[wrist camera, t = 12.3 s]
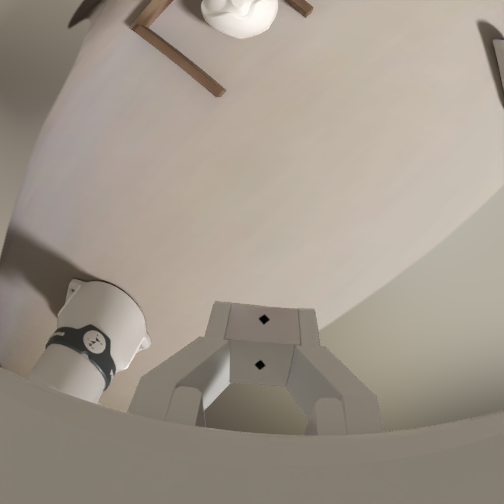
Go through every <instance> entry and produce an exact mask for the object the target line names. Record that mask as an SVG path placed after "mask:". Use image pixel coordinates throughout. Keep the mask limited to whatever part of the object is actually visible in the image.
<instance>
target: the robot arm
mask: <svg viewBox="0 0 504 504" xmlns="http://www.w3.org/2000/svg"><path fill="white" fill-rule="evenodd" d="M57 316H58V320H57V330H56V331H55V332H54V334H52V335H51V337H50V338H49V340H48V343H47V344H46V350H45V351H44V353H43V354H42V356H41V357H40V359H39V360H38V361H37V363H36V364H35V366H34V367H33V369H32V370H31V372H30V373H29V375H28V376H27V379H26V378H23V377H21V376H19V375H16V374H14V373H12V372H10V371H8V370H5V369H3V368H1V367H0V504H504V410H500V411H497V412H493V413H490V414H486V415H481V416H477V417H474V418H469V419H465V420H460V421H455V422H450V423H445V424H440V425H434V426H428V427H421V428H415V429H407V430H399V431H390V432H384V429H383V424H382V419H381V414H380V410H379V405H378V401H377V397H376V395H375V394H373V392H372V391H370V390H369V389H368V388H367V387H366V386H365V385H364V384H363V383H362V382H361V381H360V380H359V379H358V378H357V377H356V376H355V375H354V374H353V373H352V372H351V371H350V370H349V369H348V368H347V367H346V366H345V365H344V364H343V363H342V362H341V361H340V360H339V359H337V358H336V357H335V356H334V355H333V354H332V353H331V352H330V351H329V350H328V349H327V348H326V347H323V346H320V339H319V332H318V325H317V318H316V312H315V310H314V309H306V308H298V309H295V308H280V307H267V306H259V305H249V304H240V303H230V302H221V301H215V303H214V304H213V308H212V311H211V315H210V319H209V322H208V326H207V330H206V333H205V337H198V338H197V339H195V340H194V341H193V342H191V343H190V344H188V345H187V346H185V347H184V348H183V349H181V350H180V351H178V352H177V353H175V354H174V355H173V356H171V357H170V358H168V359H167V360H165V361H164V362H163V363H161V364H160V365H158V366H157V367H155V368H154V369H152V370H151V371H149V372H148V373H147V374H145V375H144V376H142V377H141V379H140V381H139V384H138V386H137V389H136V391H135V394H134V396H133V399H132V401H131V404H130V406H129V409H128V411H127V412H124V411H120V410H116V409H113V408H109V407H106V406H102V405H99V404H97V403H98V401H99V398H100V396H101V394H102V392H103V391H105V390H106V389H107V388H108V386H109V385H110V384H111V382H112V380H113V377H114V375H115V373H117V372H118V371H121V370H124V369H127V368H128V366H129V365H130V363H131V361H132V359H133V358H134V356H135V354H136V353H137V352H139V351H141V350H143V349H146V348H148V347H149V346H150V344H151V340H150V338H149V336H148V334H147V332H146V327H145V320H144V317H143V314H142V312H141V310H140V309H139V307H138V306H137V304H136V303H135V302H134V301H133V300H132V299H131V298H130V297H129V296H128V295H127V294H126V293H124V292H123V291H122V290H120V289H118V288H117V287H115V286H113V285H111V284H108V283H105V282H100V281H91V282H84V281H81V280H77V279H72V280H71V282H70V283H69V287H68V291H67V296H66V301H65V305H64V306H63V307H62V309H61V310H60V311H59V313H58V315H57ZM229 382H231V383H244V384H260V385H269V386H281V387H286V389H287V390H288V392H289V393H290V395H291V396H292V398H293V399H294V401H295V402H296V404H297V405H298V407H299V408H300V410H301V411H302V413H303V414H304V415H305V417H306V418H307V420H308V424H307V426H306V429H305V431H304V433H303V435H276V434H260V433H246V432H237V431H228V430H218V429H212V428H206V425H205V417H204V410H205V409H206V408H207V407H208V406H209V405H210V404H211V403H212V402H213V401H214V400H215V399H216V398H217V396H218V395H219V394H220V393H221V392H222V391H223V390H224V389H225V388H226V387H227V386H228V385H229Z"/></svg>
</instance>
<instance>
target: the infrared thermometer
mask: <svg viewBox="0 0 504 504" xmlns="http://www.w3.org/2000/svg"><path fill="white" fill-rule="evenodd" d="M493 45H494V49H495V53H496V57H497V61H498V66H499V71H500V76H501V81H502V87H503V90H504V39H502V38H495V39H493Z"/></svg>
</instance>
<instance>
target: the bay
mask: <svg viewBox="0 0 504 504" xmlns="http://www.w3.org/2000/svg"><path fill="white" fill-rule="evenodd" d="M172 1H173V0H152V1H151V2H150V3H149V5H148V6H147V7H146V8H145V9H144V10H143V11H142V12H141V14H140V15H139V16H138V17H137V18H136V20H135V21H134V22H133V23H132V24H131V26H130V27H129V28H130V29H131V30H133V31H134V32H136V33H137V34H138V35H140V36H141V37H142V38H144V39H145V40H146V41H148V42H149V43H150V44H152V45H153V46H154V47H155V48H157V49H158V50H159V51H161V52H162V53H163V54H164V55H166V56H167V57H168V58H170V59H171V60H172V61H173V62H175V63H176V64H177V65H178V66H180V67H181V68H182V69H183V70H184V71H186V72H187V73H188V74H189V75H191V76H192V77H193V78H194V79H195V80H196V81H198V82H199V83H200V84H201V85H202V86H204V87H205V88H206V89H207V90H208V91H209V92H211V93H212V94H213V95H214V96H215V97H221V96H222V95H223V94H224V93H225V92H226V90H225V89H224V88H223V87H222V86H220V85H219V84H218V83H217V82H216V81H215V80H213V79H212V78H211V77H210V76H209V75H208V74H206V73H205V72H204V71H203V70H202V69H200V68H199V67H198V66H197V65H195V64H194V63H193V62H192V61H191V60H189V59H188V58H187V57H186V56H184V55H183V54H182V53H180V52H179V51H178V50H177V49H175V48H174V47H173V46H172V45H170V44H169V43H168V42H166V41H165V40H164V39H162V38H161V37H160V36H158V35H157V34H156V33H154V32H153V31H152V30H150V29H149V26H150V25H151V24H152V23H153V22H154V21H155V19H156V18H157V17H158V16H159V15H160V14H161V13H162V12H163V11H164V10H165V8H166V7H167V6H168V5H169V4H170V3H171V2H172ZM285 1H286V2H287V3H289V4H290V5H291V6H292V7H293V8H295V9H296V10H297V11H298V12H299V13H301V14H302V15H303V16H304V17H305V18H306V17H307V16H308V15H309V14H311V13H312V10H313V7H312V6H311V5H310V4H309V3H307V2H306V1H305V0H285Z"/></svg>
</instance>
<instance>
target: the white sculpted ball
mask: <svg viewBox="0 0 504 504" xmlns="http://www.w3.org/2000/svg"><path fill="white" fill-rule="evenodd" d="M201 11H202V14H203V17H204V19H205V21H206V22H207V23H208V24H210V25H211V26H212V27H213V28H214V29H215V30H216V31H218V32H220V33H222V34H224V35H227V36H231V37H235V38H238V39H243V38H248V37H252V36H255V35H258V34H260V33H262V32H264V31H266V30H267V29H268V28H269V27H270V25H271V23H272V22H273V20H274V19H275V17H276V14H277V11H278V0H203V1H202V3H201Z"/></svg>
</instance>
